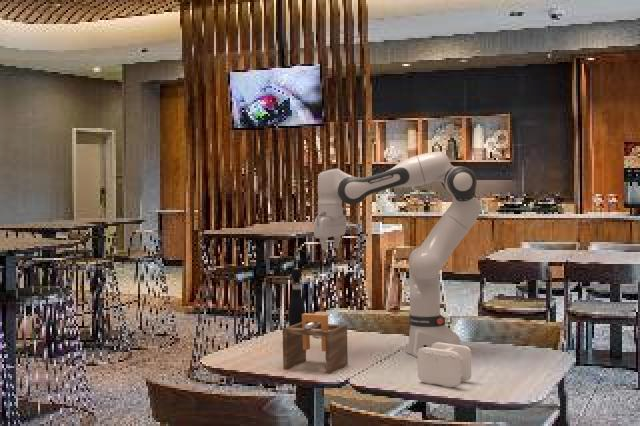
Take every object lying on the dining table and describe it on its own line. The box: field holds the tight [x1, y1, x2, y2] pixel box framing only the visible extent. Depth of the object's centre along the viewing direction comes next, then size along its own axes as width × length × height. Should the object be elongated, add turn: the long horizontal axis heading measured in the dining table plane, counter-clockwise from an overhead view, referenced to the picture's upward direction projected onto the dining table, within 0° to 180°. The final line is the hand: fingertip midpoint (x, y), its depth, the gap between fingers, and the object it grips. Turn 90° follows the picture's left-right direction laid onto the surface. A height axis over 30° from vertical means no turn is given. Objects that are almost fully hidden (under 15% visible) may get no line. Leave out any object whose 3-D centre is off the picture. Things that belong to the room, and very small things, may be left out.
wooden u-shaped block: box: [302, 312, 329, 352], centre depth 287 cm, size 9×2×12 cm, turn 63°
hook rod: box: [304, 322, 321, 330], centre depth 287 cm, size 2×13×2 cm, turn 153°
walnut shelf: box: [282, 322, 349, 375], centre depth 287 cm, size 18×14×14 cm
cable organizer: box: [417, 342, 472, 389], centre depth 262 cm, size 15×11×12 cm
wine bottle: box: [288, 268, 306, 327], centre depth 323 cm, size 6×6×30 cm
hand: (330, 248), depth 308 cm, fingers open, 8 cm apart
